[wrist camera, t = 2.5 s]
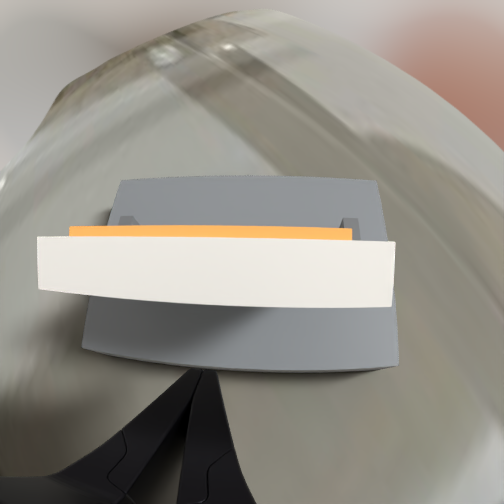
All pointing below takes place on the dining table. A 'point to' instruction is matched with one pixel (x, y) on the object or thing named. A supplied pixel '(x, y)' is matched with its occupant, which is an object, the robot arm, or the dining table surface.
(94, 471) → the robot arm
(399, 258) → the dining table surface
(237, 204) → the base
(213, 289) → the panel
